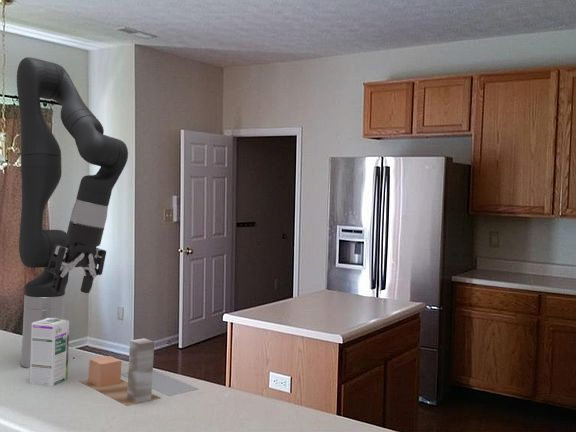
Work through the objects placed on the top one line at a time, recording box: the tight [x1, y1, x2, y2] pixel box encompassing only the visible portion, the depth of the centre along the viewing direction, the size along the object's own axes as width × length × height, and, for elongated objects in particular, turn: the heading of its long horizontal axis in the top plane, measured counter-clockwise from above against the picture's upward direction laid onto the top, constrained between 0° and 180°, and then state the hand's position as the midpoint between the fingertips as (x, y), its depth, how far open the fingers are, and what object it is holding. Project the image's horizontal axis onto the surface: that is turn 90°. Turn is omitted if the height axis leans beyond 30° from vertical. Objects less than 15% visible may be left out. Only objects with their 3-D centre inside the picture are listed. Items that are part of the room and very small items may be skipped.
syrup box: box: [29, 318, 70, 387], centre depth 130 cm, size 6×6×14 cm
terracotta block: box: [88, 355, 122, 387], centre depth 131 cm, size 5×5×5 cm
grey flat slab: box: [121, 369, 199, 397], centre depth 134 cm, size 20×8×2 cm, turn 46°
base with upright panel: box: [78, 337, 161, 407], centre depth 126 cm, size 20×8×13 cm, turn 46°
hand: (70, 292), depth 132 cm, fingers open, 8 cm apart
